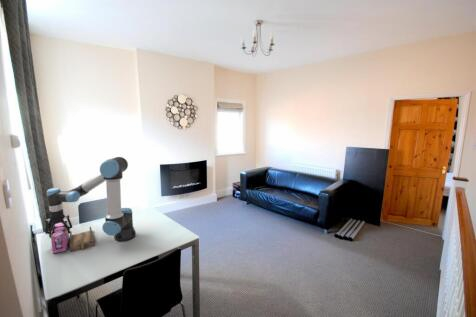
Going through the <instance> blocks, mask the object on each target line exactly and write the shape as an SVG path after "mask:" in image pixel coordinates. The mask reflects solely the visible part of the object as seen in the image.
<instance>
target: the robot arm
mask: <svg viewBox="0 0 476 317" xmlns="http://www.w3.org/2000/svg"><path fill="white" fill-rule="evenodd" d="M128 167H129V162H128V160H127V158H124V157H123V156H116V157H114V158H108V159H106V160H104V161H103V162H102V163H101V164H100V166H99V172H98V173H96V174H95V175H93V176H91V178H89V179H88V180H86V181H85V182H83V183H81V184H80V185H78V186H77V187H74V188H72V189H70V190H68V191H67V190H65V191H61V188H59V187H52V188H49V189H47V190H46V198H47V203H48V211H49V216H50V218H48V219H45V222H44V223H45V232H44V234H45V235H47V234H48V236H49V239H51V233H52V230H53V227H54V224H55V223H58V222H62V223H63V225H64V226H65V227H66V228H67V230H66V231H67V238H69V239H70V231H71V229H73V224H72V221H71V219H70V214H67V215H65V213H64V209H63V208H64V206H63V203H76V202H78V201H79V200H80V198H81V197H83V196H85V195H87V194H88V193H89V192H92V190H94V189H95V188H97V187H99V186H100V185H101V184H103V183H104V182H106V183H105V185H106V204H107V208H106V209H107V213H106V215H105V216H104V217H105V219H104V220H105V222H104V223H103V224H102V227H101V228H102V231H103V233H104V234H106V235H108V236H114V241H115V242H116V241H117V242H121V243H122V242H127V241H131V240H132V239H135V238H136V235H137V232H136V229H135V226H134V223H133V222H134V221H133V211H132V210H133V209H132V208H130V207H122V197H121V193H122V192H121V180H122V179H123V172H125V171H126V170H128ZM64 219H66V220H64ZM50 221H51V222H52V223H51V226H50V228H49V223H50ZM65 221H67V223H68V225H67V224H66V223H65Z"/></svg>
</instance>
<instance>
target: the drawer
mask: <svg viewBox="0 0 476 317" xmlns="http://www.w3.org/2000/svg"><path fill="white" fill-rule="evenodd" d="M93 234H94V233H93V230H92V226H89V230H88V231H84V232H79V233H78V232H77V233H75V234H72V230H70V233H69V244H70V245H69V246H70V252H74V251H78V250H82V251H84V250H85V248H90V247H93V246H95V240H94V239H95V238H94V235H93Z"/></svg>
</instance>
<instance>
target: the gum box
mask: <svg viewBox="0 0 476 317" xmlns="http://www.w3.org/2000/svg"><path fill="white" fill-rule="evenodd" d="M64 221H65V223H66V224H67V225H68V226H69V223H68V220H64ZM66 230H67V228H66V227H65V226H64V225H63V223H62V222H58V223H55V224H54V227H53V229H52V233H51V238H50V239H51V241H50V242H51V251H52V254H58V253H62V252H66V251H67V249H68V243H69V242H70V237H69V238H67V231H66Z"/></svg>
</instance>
